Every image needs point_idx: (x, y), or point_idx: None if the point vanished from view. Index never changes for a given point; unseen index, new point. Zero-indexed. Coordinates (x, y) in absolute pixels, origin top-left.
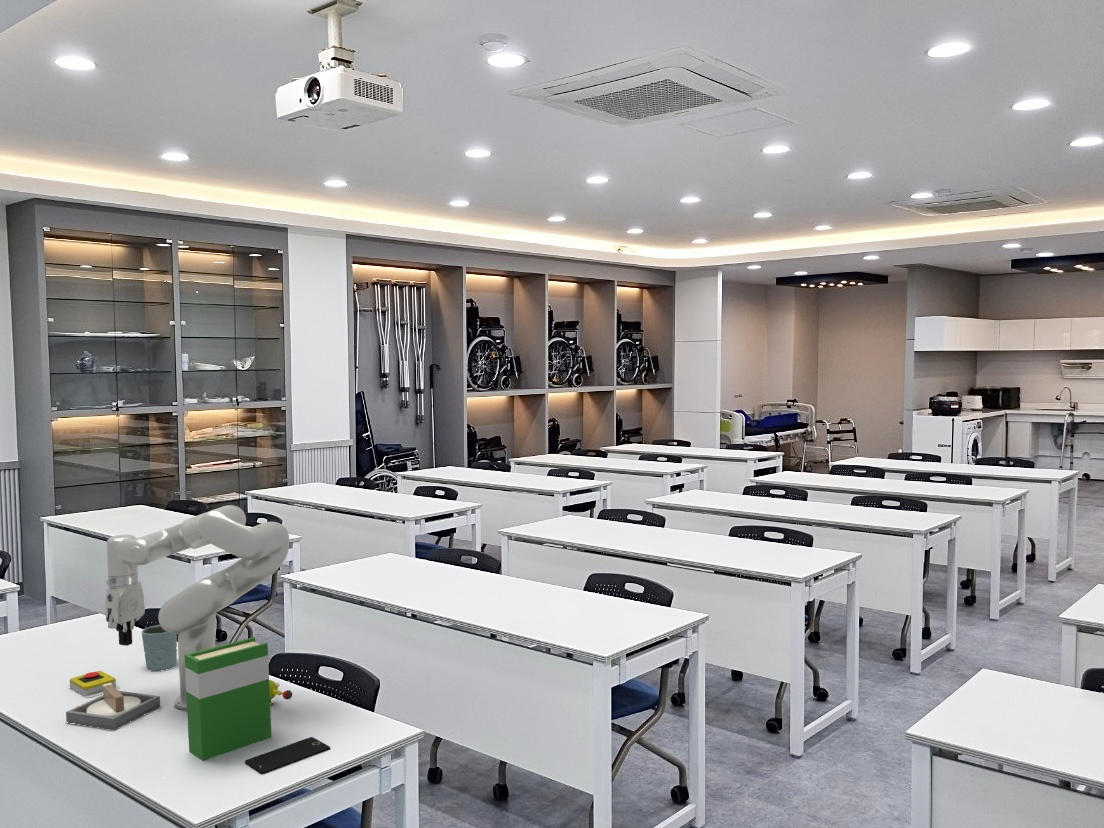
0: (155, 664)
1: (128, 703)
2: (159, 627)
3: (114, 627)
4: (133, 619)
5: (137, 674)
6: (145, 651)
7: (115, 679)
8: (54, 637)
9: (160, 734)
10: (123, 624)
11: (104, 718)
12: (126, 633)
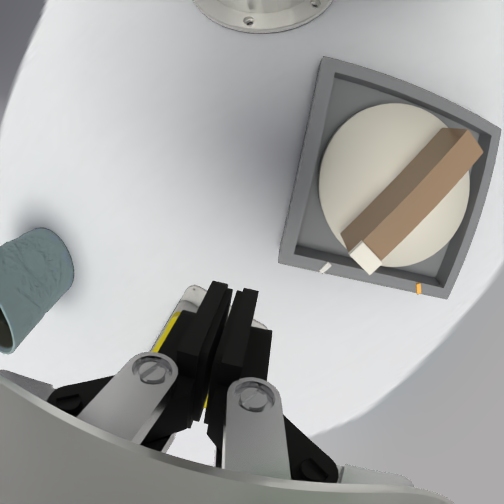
0: (60, 265)
1: (386, 144)
2: None
3: (374, 479)
4: (124, 439)
5: (97, 293)
6: (44, 311)
7: (175, 314)
8: None
9: (478, 4)
10: (278, 467)
11: (493, 160)
12: (244, 364)
